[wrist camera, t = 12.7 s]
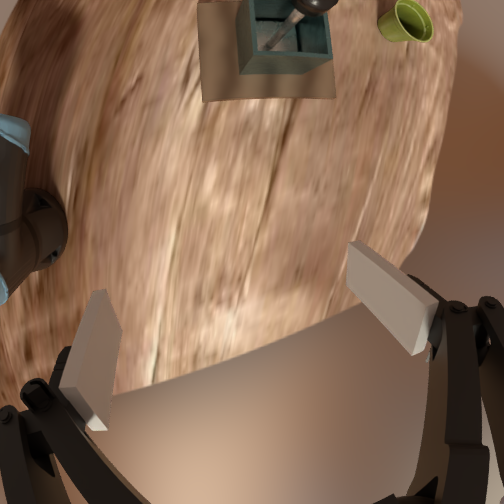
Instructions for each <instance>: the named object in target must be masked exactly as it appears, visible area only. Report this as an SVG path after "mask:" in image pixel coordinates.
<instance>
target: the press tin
mask: <svg viewBox="0 0 504 504" xmlns="http://www.w3.org/2000/svg"><path fill="white" fill-rule="evenodd" d="M294 9H295V7H294V6H293V4H292V1H291V0H243V1H242V3H241V6H240V9H239V11H238V14H237V16H236V19H235V25H236V38H237V51H238V65H239V75H253V74H292V75H302V74H304V73H306V72H308V71H310V70H312V69H314V68H316V67H318V66H320V65H322V64H324V63H326V62H328V61H330V60H332V59H333V54H332V45H331V37H330V29H329V22H328V15H327V12H326V13H324V14H323V15H322V16H319V17H309V16H304V17H303V18H302V19H301V20H300V21H299V22H298V23H297V24H296V25H295V30H296V39H297V49H298V52H289V51H258V44H257V33H256V22H255V21H272V22H284V21H285V20H286V18H287V17H288V16H289V15H290V14H291V13H292V12H293V10H294Z"/></svg>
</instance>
